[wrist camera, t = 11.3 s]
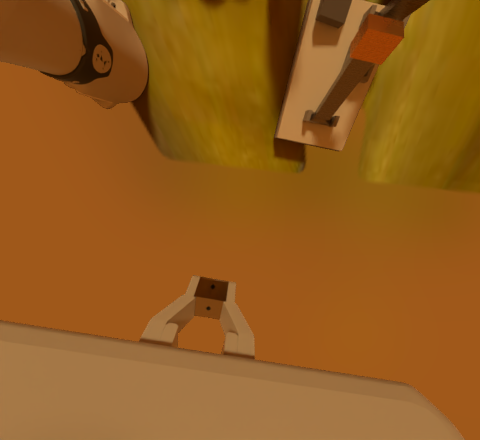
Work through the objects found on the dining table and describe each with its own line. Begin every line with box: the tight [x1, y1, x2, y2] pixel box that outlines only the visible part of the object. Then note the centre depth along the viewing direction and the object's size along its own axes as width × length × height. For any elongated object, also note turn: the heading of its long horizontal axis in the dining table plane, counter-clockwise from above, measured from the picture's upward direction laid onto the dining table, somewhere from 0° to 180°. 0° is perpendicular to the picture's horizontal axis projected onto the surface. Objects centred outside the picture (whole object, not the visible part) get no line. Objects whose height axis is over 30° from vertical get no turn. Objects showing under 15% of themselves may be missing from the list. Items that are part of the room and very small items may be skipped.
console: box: [274, 0, 411, 151], centre depth 33 cm, size 15×22×6 cm
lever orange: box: [308, 13, 404, 126], centre depth 28 cm, size 4×2×15 cm
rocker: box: [315, 0, 352, 28], centre depth 27 cm, size 4×3×2 cm
